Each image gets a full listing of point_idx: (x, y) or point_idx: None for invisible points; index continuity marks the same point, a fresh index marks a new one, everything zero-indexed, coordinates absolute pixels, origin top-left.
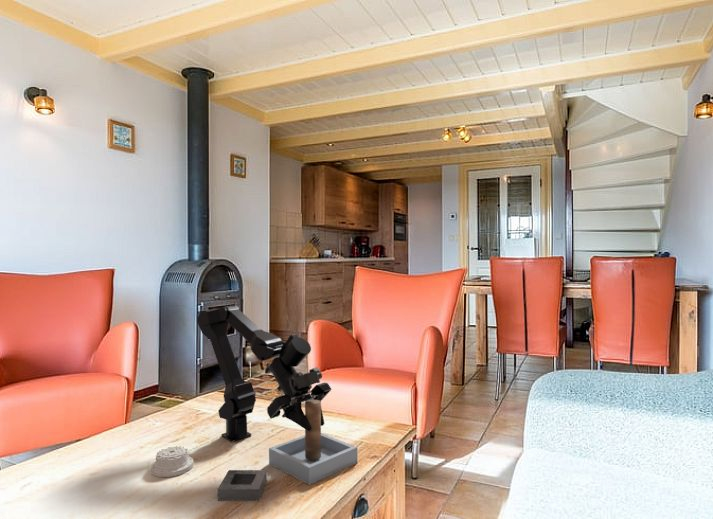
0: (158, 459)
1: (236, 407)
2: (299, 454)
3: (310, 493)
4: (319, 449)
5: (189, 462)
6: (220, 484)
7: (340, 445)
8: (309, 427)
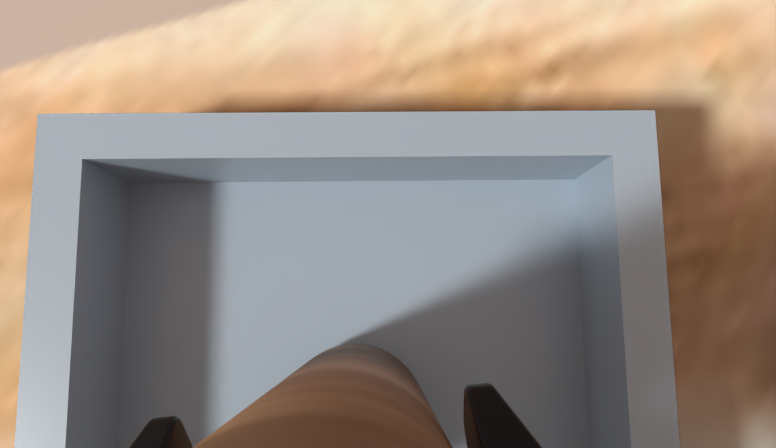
0: None
1: None
2: None
3: (661, 58)
4: (330, 352)
5: None
6: None
7: (84, 311)
8: (505, 405)
